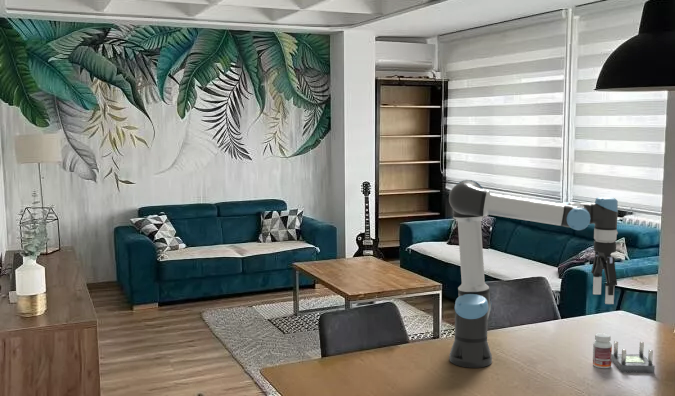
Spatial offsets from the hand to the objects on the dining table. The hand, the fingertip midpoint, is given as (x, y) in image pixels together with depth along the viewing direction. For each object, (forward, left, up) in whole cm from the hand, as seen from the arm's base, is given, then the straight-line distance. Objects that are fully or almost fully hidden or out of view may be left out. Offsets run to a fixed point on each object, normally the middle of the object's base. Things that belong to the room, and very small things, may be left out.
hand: (602, 298), depth 257 cm
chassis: (+9, -6, -23) cm, 25 cm away
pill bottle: (-1, -6, -23) cm, 24 cm away
